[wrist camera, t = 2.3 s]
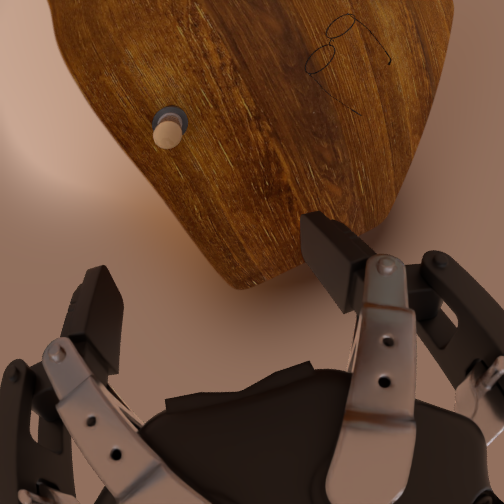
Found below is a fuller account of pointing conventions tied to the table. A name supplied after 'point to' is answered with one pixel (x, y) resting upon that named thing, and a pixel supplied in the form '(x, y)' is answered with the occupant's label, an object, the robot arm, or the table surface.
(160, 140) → the cylinder with wooden handle
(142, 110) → the table surface
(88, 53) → the table surface
